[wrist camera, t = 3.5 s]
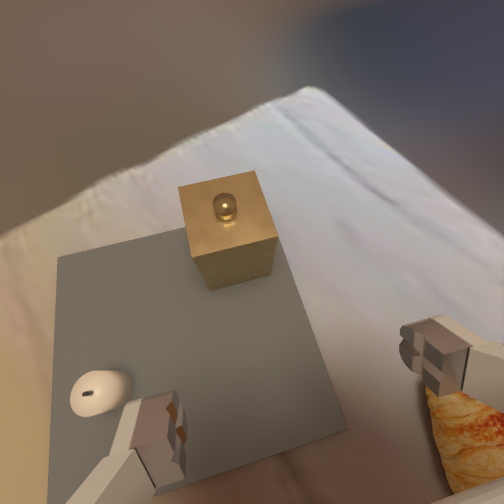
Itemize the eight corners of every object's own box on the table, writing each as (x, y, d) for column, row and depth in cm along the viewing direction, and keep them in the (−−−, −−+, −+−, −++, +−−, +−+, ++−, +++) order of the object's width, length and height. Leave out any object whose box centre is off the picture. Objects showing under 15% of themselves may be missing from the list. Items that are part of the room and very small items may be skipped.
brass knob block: (270, 275, 25) (279, 228, 17) (209, 291, 24) (188, 251, 16) (254, 223, 27) (254, 160, 19) (198, 236, 27) (174, 178, 18)
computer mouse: (134, 403, 20) (106, 411, 16) (98, 414, 20) (61, 425, 16) (132, 366, 21) (105, 365, 18) (97, 376, 21) (62, 377, 17)
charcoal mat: (344, 427, 20) (347, 429, 20) (54, 527, 18) (45, 533, 17) (267, 212, 29) (267, 207, 28) (63, 260, 26) (57, 257, 26)
